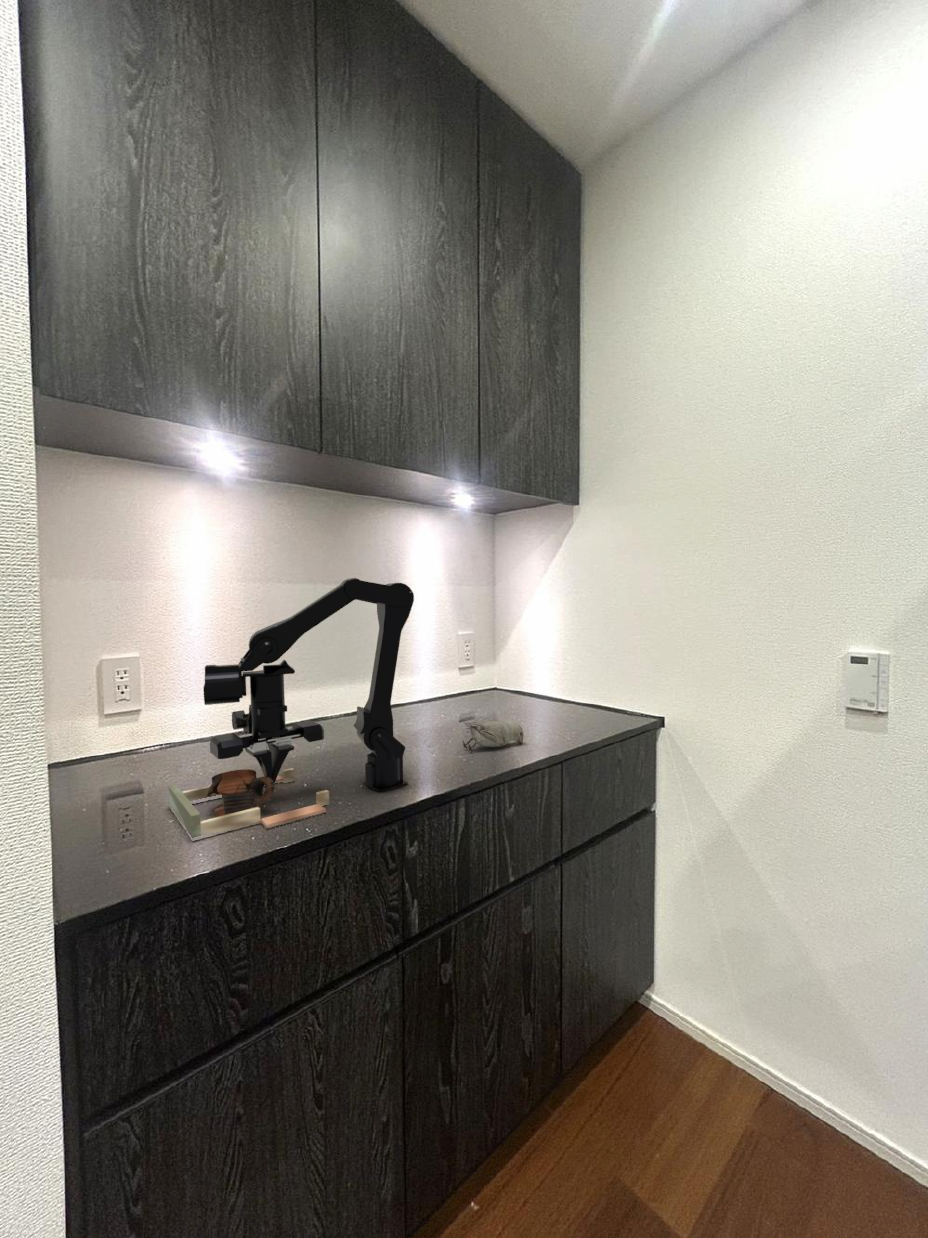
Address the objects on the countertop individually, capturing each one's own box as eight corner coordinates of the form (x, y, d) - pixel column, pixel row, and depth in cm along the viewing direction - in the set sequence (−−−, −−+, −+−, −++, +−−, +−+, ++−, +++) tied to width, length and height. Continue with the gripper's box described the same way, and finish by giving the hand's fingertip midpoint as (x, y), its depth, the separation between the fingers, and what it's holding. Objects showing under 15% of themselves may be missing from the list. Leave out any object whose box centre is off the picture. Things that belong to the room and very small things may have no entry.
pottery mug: (195, 827, 89) (194, 777, 92) (226, 830, 97) (225, 784, 101) (265, 809, 88) (262, 759, 92) (290, 813, 97) (286, 767, 100)
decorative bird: (528, 746, 133) (528, 716, 132) (469, 756, 125) (469, 724, 125) (516, 741, 137) (516, 712, 137) (459, 750, 130) (459, 719, 130)
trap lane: (286, 776, 112) (286, 757, 112) (336, 810, 94) (336, 787, 94) (165, 803, 98) (165, 781, 98) (197, 849, 80) (196, 822, 80)
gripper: (300, 687, 110) (302, 763, 110) (200, 700, 98) (203, 785, 99) (324, 695, 101) (326, 777, 102) (217, 710, 89) (220, 803, 90)
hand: (270, 785), depth 98 cm, fingers closed
